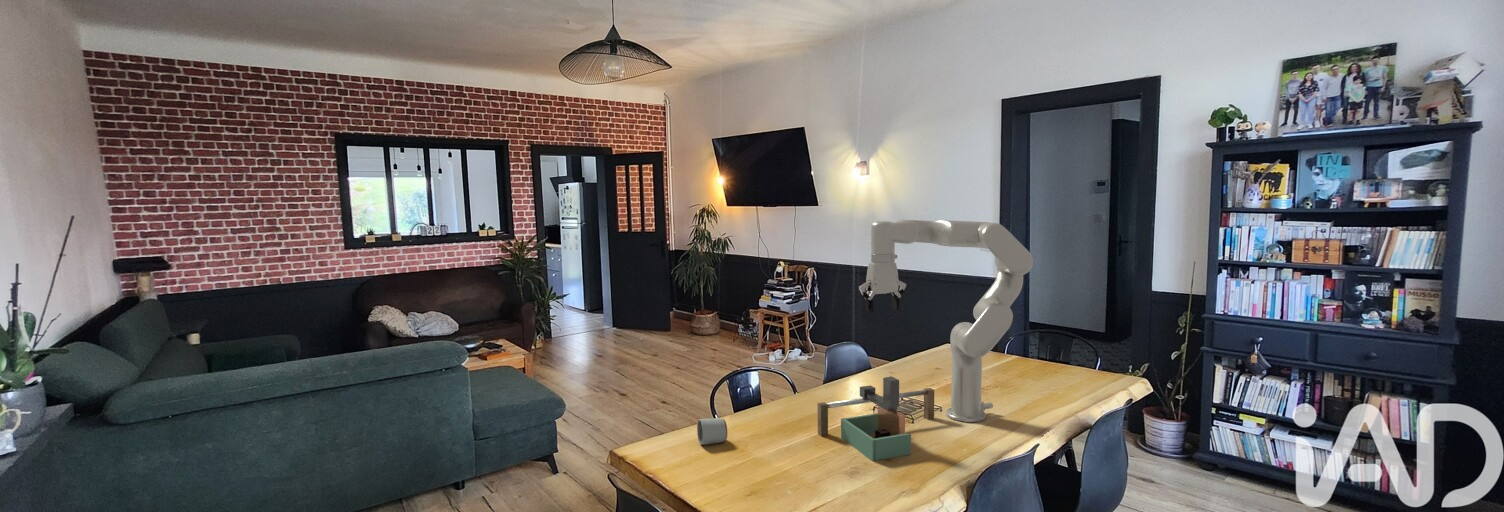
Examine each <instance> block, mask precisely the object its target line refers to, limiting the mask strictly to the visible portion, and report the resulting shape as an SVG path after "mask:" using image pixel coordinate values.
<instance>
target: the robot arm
mask: <svg viewBox="0 0 1504 512" xmlns="http://www.w3.org/2000/svg"><path fill="white" fill-rule="evenodd" d="M870 239H871V241H870V248H871V249H870V262H869V263H868V266H867V269H866V270H867V271H866V278H865V281H866V282H864V283H862V284H861V285H859V286H858V290H859V291H860V294H861V296H862V297H863V298H864V299H865V309H866V311H867V312H869V313H873V312H874V300H873V298H874V296H875V295H879V294H880V295H881V294H891V295H892V297H891V309H892V310H897V311H899V308H900V298H901V297H902V295H903V294H904V292H905V289H906V287H907V284H906V282H903V281H901V280H899V271H898V267H897V263H896V262H895V261H896V259H898V254H896V253H895V244H896V243H897V244H905V245H908V244H909V245H910V244H913V243H924V244H925V243H926V244H933V245H938V246H943V247H951V248H953V247H954V248H955V247H956V248H957V247H958V248H976V249H977V248H978V249H987V250H989V251H990V253H992V254H993V256H994V263H995V266H996V271H997V273H996V278H995V280H994V282H993V283H992V284H991V286H990V287H989V288H988V289H987V290H986V292H985V293H984V295H983V296H981V298H980V299H979V300H978V302H977V303H976V304H975V305H974V307H973V309H972V310H973V311H972V315H973V317H974V319H975V320H976V321H975V322H974V323H971V322H968V321H964V322H963V321H962V322H958V323H957V324H955V326H953V328H952V329H951V332H950V339H949V340H950V341H949V342H950V343H949V344H950V349H951V350H950V351H951V389H950V391H951V395H950V396H951V397H950V404H951V406H950V407H949V408H947V409H946V416H947V417H948V418H950V419H951V420H955V421H958V422H965V423H977V422H982V421H984V420H985V419H986V417H987V414H986V412H985V411H986V410H988V409H992V408H994V404H993V403H992V402H987V403H985V402H984V401H982V386H983V385H982V384H983V383H982V379H983V375H982V372H983V361H982V358H983V357H984V356H986V355H987V354H989V353H990V351H992V349H994V347H995V346H996V345H997V344H998V343H999V341H1000V340H1001V339H1002V338H1003V336H1004V335H1005V334H1006V332H1007V331H1009V329H1010V328H1011V326H1012V323H1013V318H1014V315H1013V311H1012V309H1011V306H1012V305H1013V303H1014V302H1015V301H1016V299H1017V298H1018V296H1019V295H1020V293H1021V291H1022V289H1023V285H1024V276H1025V275H1026V274H1028V273H1029V272H1030V271H1031V270H1032V268H1033V266H1034V258H1033V256H1032V254H1031V252H1030V251H1029V250H1028V249H1027V248H1026V247H1025V246H1024V245H1023V244H1022V243H1021V242H1020V241H1019V240H1018V239H1017V238H1016V237H1015V236H1014V235H1013V234H1012V233H1011V232H1010V231H1009V230H1008V229H1007V228H1006V227H1005V226H1004V225H1002V224H1001V223H997V222H988V221H971V220H968V221H967V220H922V219H921V220H917V219H916V220H915V219H900V220H897V221H895V222H893V221H889V220H888V221H887V220H885V221H883V220H881V221H880V220H879V221H874V222H872V224H871V229H870Z"/></svg>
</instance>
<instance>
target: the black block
mask: <svg viewBox="0 0 1504 512" xmlns="http://www.w3.org/2000/svg"><path fill="white" fill-rule="evenodd" d="M887 436H891V435H890V432H889V431H886V429H884V428H882V429H876V430H875V434H874V437H873V439H875V438H881V437H887Z"/></svg>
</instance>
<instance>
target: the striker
mask: <svg viewBox="0 0 1504 512" xmlns="http://www.w3.org/2000/svg"><path fill="white" fill-rule="evenodd" d="M882 378H883V379H882V386H883V387H882V394H883V395H879V394H878V393H876V387H875V386H873V385H870V384H869V385H866V386H865V385H864V386H862V385H861V386H859V397H860V398H864V399H868V400H869V401H871V402H870V403H873V404H874V405H876V406H877V414H878V429H882V428H884V429H886V431H889V432H890V435H891V436H894V435H900V434H906V415H904V414H903V413H901V412H899V411H898V407H900V398H899V393H900V379H898V378H896V377H894V376H886V377H882ZM881 396H883V397H881Z"/></svg>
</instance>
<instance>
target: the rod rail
mask: <svg viewBox="0 0 1504 512" xmlns="http://www.w3.org/2000/svg"><path fill="white" fill-rule="evenodd" d="M880 396H881V397H883V395H880ZM918 396H923V418H924V419H926V420H928V421H929V420H935V389H933V388H931V387H927V388H923V389H922V390H915V391H914V390H913V391H905V392H899V399H905V398H912V397H918ZM869 403H872V402H871V401H869V400H868V399H864V398H862V397H860V398H855V399H854V398H853V399H848V400H841V401H833V402H817V434H818V435H819V436H821V437H825V436H829V409H832V408H840V407H847V406H848V407H849V406H853V405H860V404H869Z"/></svg>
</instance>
